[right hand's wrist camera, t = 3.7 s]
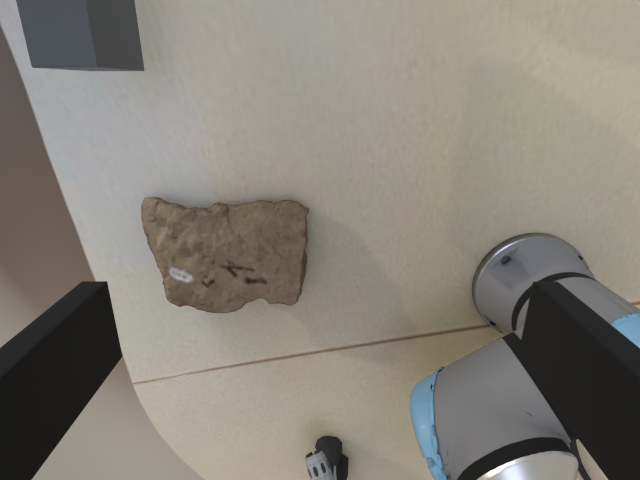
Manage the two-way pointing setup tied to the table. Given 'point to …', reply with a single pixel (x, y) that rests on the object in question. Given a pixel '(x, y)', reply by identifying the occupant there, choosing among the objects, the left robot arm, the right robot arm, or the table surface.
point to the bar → (82, 34)
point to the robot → (327, 460)
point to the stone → (228, 252)
